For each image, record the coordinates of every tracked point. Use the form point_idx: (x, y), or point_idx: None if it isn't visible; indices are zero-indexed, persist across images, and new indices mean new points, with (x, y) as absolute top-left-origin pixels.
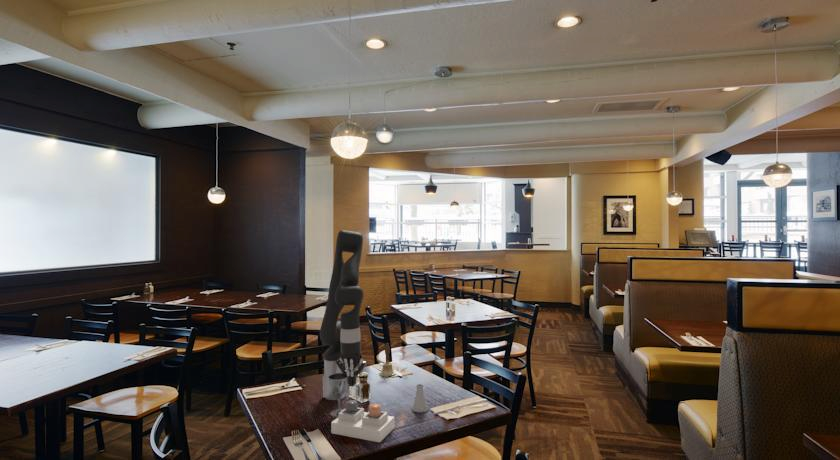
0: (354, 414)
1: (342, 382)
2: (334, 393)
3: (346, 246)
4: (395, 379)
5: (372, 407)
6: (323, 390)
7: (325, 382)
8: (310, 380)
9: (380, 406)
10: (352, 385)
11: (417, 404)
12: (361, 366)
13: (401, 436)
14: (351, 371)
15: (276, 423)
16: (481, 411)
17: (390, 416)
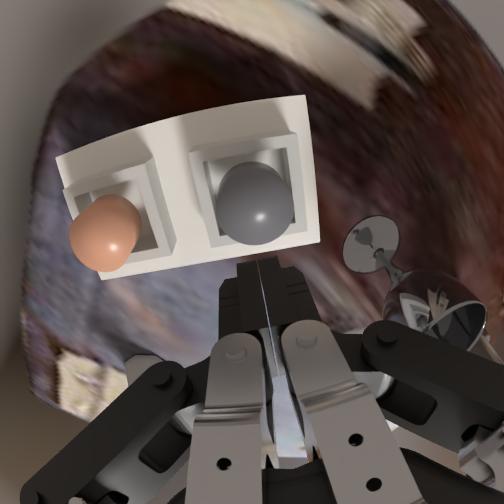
0: (203, 167)
1: (409, 324)
2: (419, 268)
3: None
4: None
5: (93, 222)
6: None
7: None
8: (495, 332)
9: (75, 253)
10: (238, 270)
11: (139, 375)
12: (56, 480)
13: (58, 222)
14: (248, 398)
15: (490, 100)
16: (56, 390)
17: (114, 275)
